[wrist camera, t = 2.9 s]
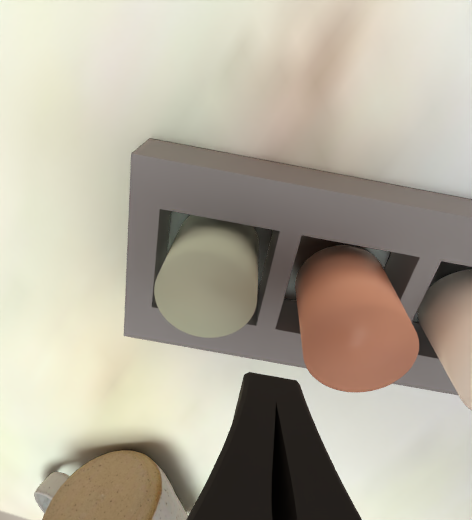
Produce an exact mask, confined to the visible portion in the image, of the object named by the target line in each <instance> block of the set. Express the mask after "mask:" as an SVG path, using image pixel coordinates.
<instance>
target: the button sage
mask: <svg viewBox="0 0 472 520" xmlns="http://www.w3.org/2000/svg"><path fill="white" fill-rule="evenodd" d="M258 263H259V240H258V236H257V233H256V231H255V229H254V227H253V226H249V225H244V224H239V223H233V222H228V221H222V220H217V219H212V218H206V217H201V216H196V215H190V216H189V217H188V218H187V219H186V220H185V221H184V222H183V224H182V225H181V227H180V229H179V231H178V233H177V235H176V238H175V240H174V242H173V244H172V246H171V248H170V250H169V253H168V255H167V257H166V259H165V261H164V263H163V265H162V268H161V270H160V272H159V274H158V276H157V279H156V282H155V287H154V295H155V301H156V304H157V306H158V308H159V310H160V312H161V314H162V315H163V316H164V317H165V319H166V320H167V321H168V322H169V323H170V324H172V325H173V326H174V327H176V328H177V329H179V330H181V331H183V332H185V333H187V334H190V335H193V336H197V337H204V338H215V337H222V336H226V335H229V334H232V333H234V332H236V331H238V330H239V329H241V328H242V327H243V326H245V325H246V324H247V323H248V322H249V320H250V319H251V317H252V316H253V314H254V312H255V309H256V305H257V292H258Z"/></svg>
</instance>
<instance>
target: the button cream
mask: <svg viewBox="0 0 472 520" xmlns="http://www.w3.org/2000/svg"><path fill="white" fill-rule="evenodd" d="M417 315H418V320H419V323H420V325H421V327H422V329H423V331H424V333H425V334H426V336H427V338H428V340H429V342H430V344H431V345H432V347H433V349H434V351H435V353H436V354H437V356H438V358H439V360H440V362H441V364H442V365H443V367H444V369H445V371H446V373H447V375H448V376H449V378H450V380H451V382H452V384H453V385H454V387H455V389H456V391H457V393H458V395H459V396H460V398H461V400H462V401H463V403H464V404H465V405H466V406H467V407H468V408H469V409H471V410H472V269H471V270H463V271H458V272H455V273H452V274H449V275H447V276H445V277H443V278H441V279H440V280H438V281H437V282H435V283H434V284H433V285H432V286H431V287H430V288H429V289H428V290H427V292H426V294H425V296H424V298H423V300H422V302H421V304H420V306H419V308H418V311H417Z"/></svg>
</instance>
